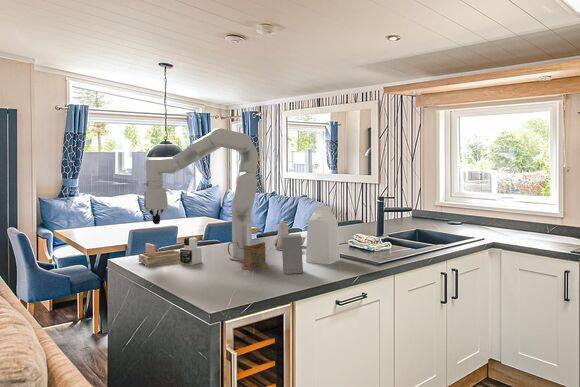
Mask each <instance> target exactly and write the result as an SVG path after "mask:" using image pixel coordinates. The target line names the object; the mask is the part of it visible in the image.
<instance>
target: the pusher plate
mask: <svg viewBox="0 0 580 387" xmlns="http://www.w3.org/2000/svg"><path fill="white" fill-rule="evenodd" d="M144 246H145V254H146V256H147V257H156V252H157V251H156V249H157V248H156V244H153V243H149V242H145V245H144Z"/></svg>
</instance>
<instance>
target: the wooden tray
mask: <svg viewBox="0 0 580 387" xmlns="http://www.w3.org/2000/svg"><path fill="white" fill-rule="evenodd" d="M139 262H141V263H143V264H145V265H144V266H146V265H147V266H146V267H148V266H150V267H156V266H155V265H157V266H163V265H170V264H176V263H180V250H176V249H171V250H170V249H169V250H163V251H156V257H147V256H146V253H140V254H138V263H139ZM141 263H140V264H141ZM143 264H142V265H143Z"/></svg>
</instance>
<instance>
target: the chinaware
mask: <svg viewBox="0 0 580 387" xmlns="http://www.w3.org/2000/svg"><path fill="white" fill-rule="evenodd" d="M289 225H290V223H287V222H286V221H285V220H284V219H282V220H281V221H280V222H279V223H278V224H276V226H277V235H276V238H275V239H274V241H273V247H275V250H277V251H282V235H289V234H290V233H289ZM301 237H302V245H303V244H304V243H305V241H306V239H307V236H301Z"/></svg>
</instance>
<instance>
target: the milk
mask: <svg viewBox="0 0 580 387" xmlns="http://www.w3.org/2000/svg"><path fill="white" fill-rule="evenodd" d="M331 210H332V209H331V208H330V206H329V205H320V204H319V205H315V208H314V210H313V213H312V214H311V215H310V217H309V219H308V220H307V225H306V226H307V229H306V255H305V262H306V263H311V264H322V265H332V264H334V263H336V262H339V261H340V260H341V256H340V255H341V253H340V240H339V237H340V236H339V225H338V223H339V222H338V220H337V218H336V216H335V215H334V213H333V212H332V211H331Z"/></svg>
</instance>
